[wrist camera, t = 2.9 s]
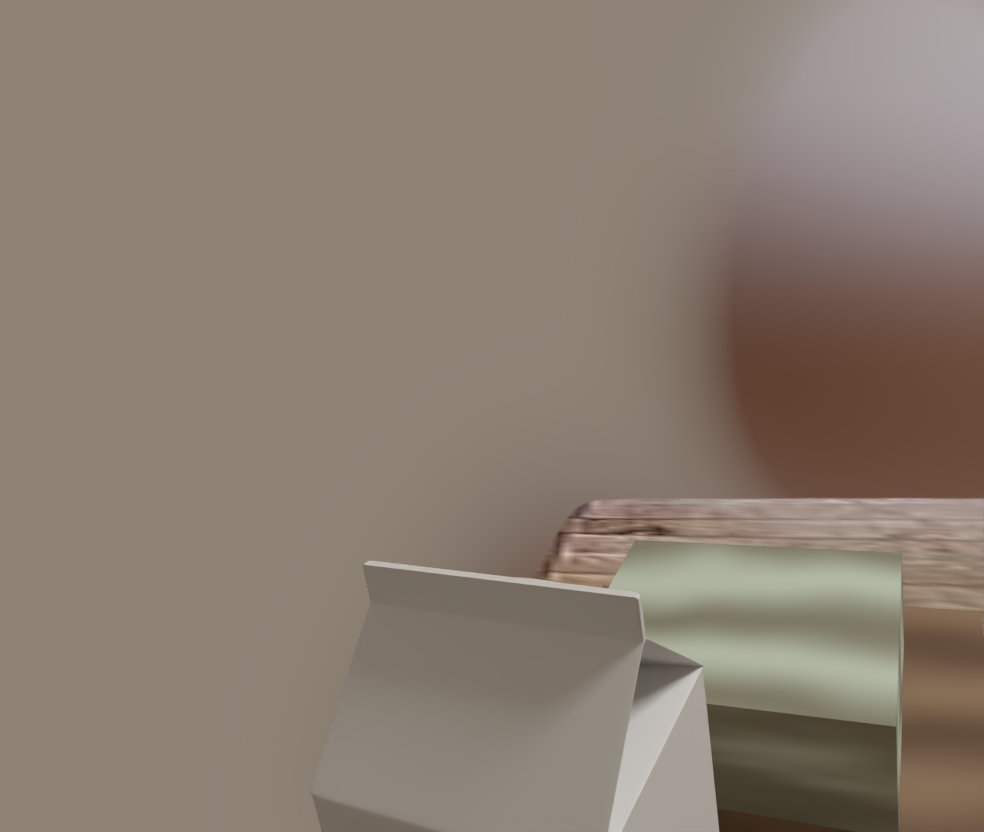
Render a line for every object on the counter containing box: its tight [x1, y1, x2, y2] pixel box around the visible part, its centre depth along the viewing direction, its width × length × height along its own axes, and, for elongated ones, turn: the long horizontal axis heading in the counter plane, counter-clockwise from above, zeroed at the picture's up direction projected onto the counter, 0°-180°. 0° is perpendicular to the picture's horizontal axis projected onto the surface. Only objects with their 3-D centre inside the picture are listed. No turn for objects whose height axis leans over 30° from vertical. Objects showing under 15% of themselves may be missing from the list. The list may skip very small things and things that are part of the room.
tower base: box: [602, 540, 984, 832], centre depth 42 cm, size 20×20×6 cm
